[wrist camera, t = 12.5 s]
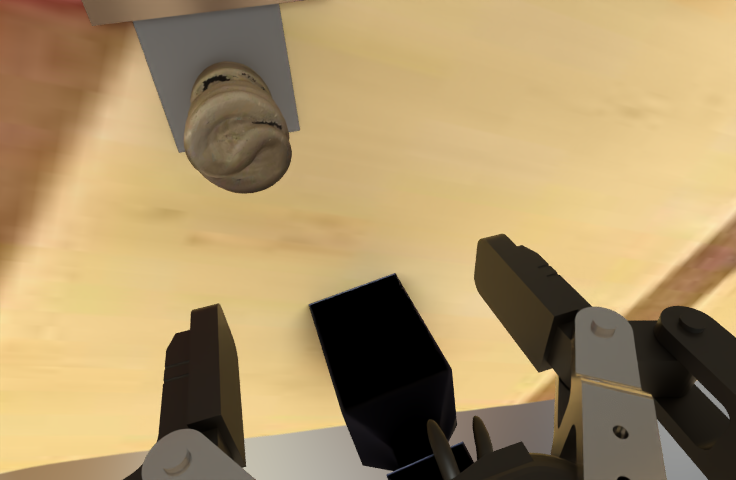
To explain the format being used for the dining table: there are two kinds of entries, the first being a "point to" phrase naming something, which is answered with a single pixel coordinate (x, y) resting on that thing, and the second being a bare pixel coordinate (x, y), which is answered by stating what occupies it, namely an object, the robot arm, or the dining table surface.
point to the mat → (216, 56)
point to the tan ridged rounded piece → (236, 130)
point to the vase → (393, 383)
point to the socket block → (160, 8)
